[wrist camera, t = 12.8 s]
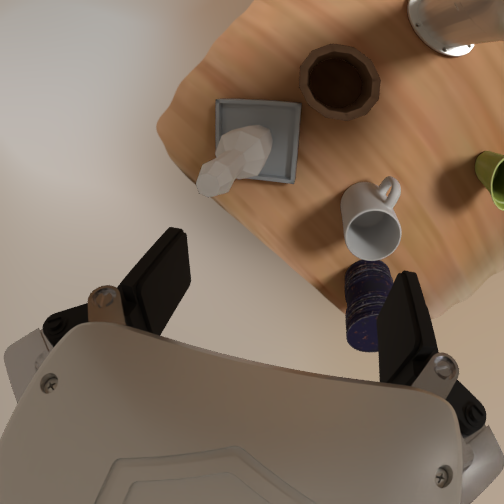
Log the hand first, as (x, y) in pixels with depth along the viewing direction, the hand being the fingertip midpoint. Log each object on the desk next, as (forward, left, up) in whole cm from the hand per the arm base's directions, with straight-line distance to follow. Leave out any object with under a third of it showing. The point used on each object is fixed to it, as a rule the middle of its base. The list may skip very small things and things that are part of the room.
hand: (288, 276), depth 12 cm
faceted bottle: (+2, -8, -35) cm, 36 cm away
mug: (+9, +11, -36) cm, 39 cm away
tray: (+2, -9, -36) cm, 37 cm away
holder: (-9, +3, -36) cm, 37 cm away
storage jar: (+26, +15, -36) cm, 47 cm away
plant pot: (-2, +33, -36) cm, 49 cm away
